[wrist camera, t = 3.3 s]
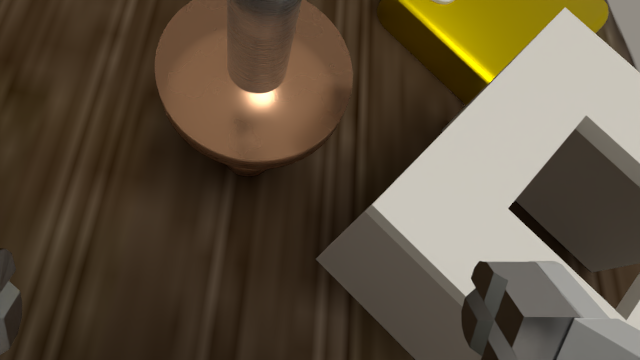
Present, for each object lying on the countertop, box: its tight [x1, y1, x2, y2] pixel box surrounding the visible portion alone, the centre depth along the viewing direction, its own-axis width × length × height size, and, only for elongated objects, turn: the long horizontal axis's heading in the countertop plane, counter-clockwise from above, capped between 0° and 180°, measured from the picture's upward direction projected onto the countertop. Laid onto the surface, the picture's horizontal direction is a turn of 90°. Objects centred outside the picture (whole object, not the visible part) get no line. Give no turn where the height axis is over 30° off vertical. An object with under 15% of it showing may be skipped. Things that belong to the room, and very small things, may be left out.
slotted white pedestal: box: [316, 8, 640, 360], centre depth 31 cm, size 16×16×15 cm
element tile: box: [377, 0, 609, 105], centre depth 43 cm, size 15×15×5 cm
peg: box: [155, 0, 353, 177], centre depth 25 cm, size 10×10×26 cm
